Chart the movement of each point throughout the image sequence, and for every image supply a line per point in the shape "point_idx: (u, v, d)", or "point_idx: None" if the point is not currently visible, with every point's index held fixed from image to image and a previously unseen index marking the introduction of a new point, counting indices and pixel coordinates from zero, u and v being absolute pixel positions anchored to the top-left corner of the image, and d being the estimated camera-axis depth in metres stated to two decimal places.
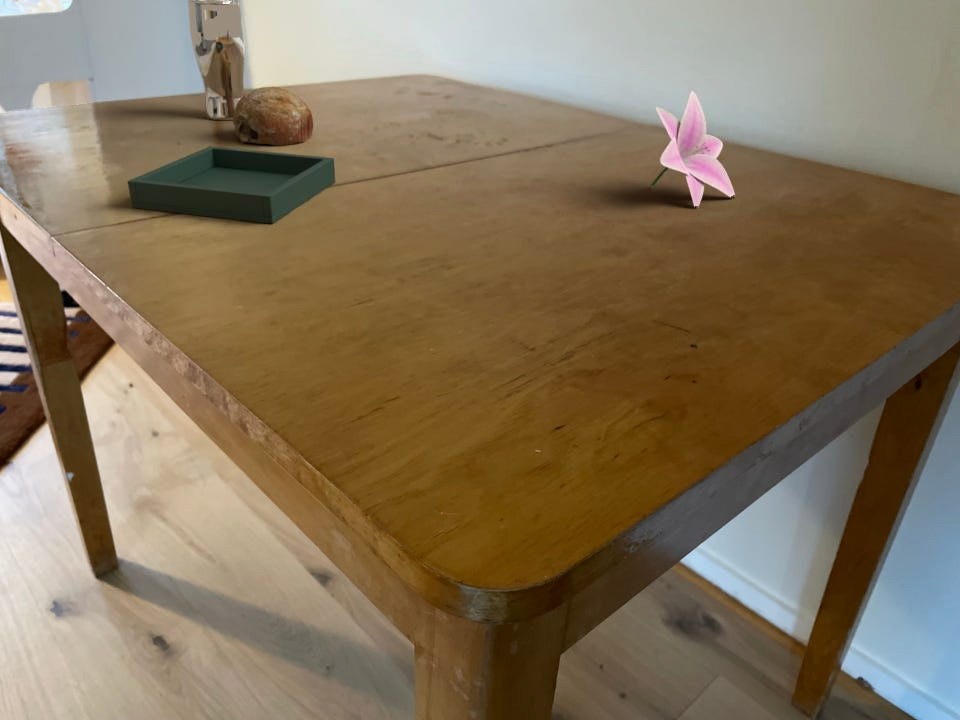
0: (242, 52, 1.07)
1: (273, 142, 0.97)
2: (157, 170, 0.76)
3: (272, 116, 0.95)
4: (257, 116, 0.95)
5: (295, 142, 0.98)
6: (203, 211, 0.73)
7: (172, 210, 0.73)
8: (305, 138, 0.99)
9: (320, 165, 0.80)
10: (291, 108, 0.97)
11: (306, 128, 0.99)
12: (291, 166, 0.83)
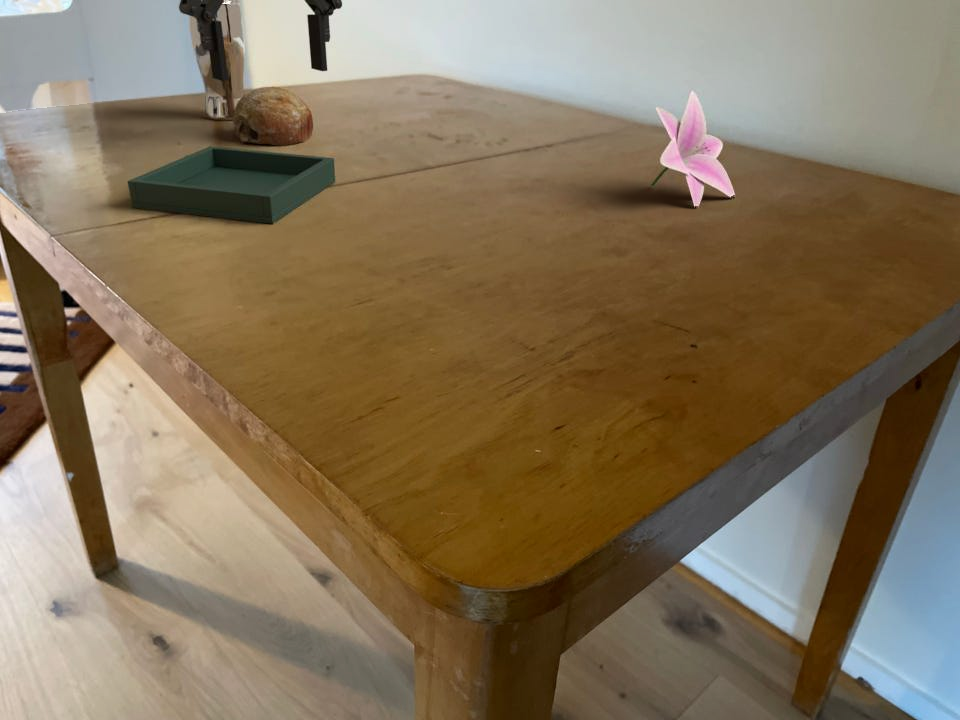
0: (242, 52, 1.07)
1: (273, 142, 0.97)
2: (157, 170, 0.76)
3: (272, 116, 0.95)
4: (257, 116, 0.95)
5: (295, 142, 0.98)
6: (203, 211, 0.73)
7: (172, 210, 0.73)
8: (305, 138, 0.99)
9: (320, 165, 0.80)
10: (291, 108, 0.97)
11: (306, 128, 0.99)
12: (291, 166, 0.83)
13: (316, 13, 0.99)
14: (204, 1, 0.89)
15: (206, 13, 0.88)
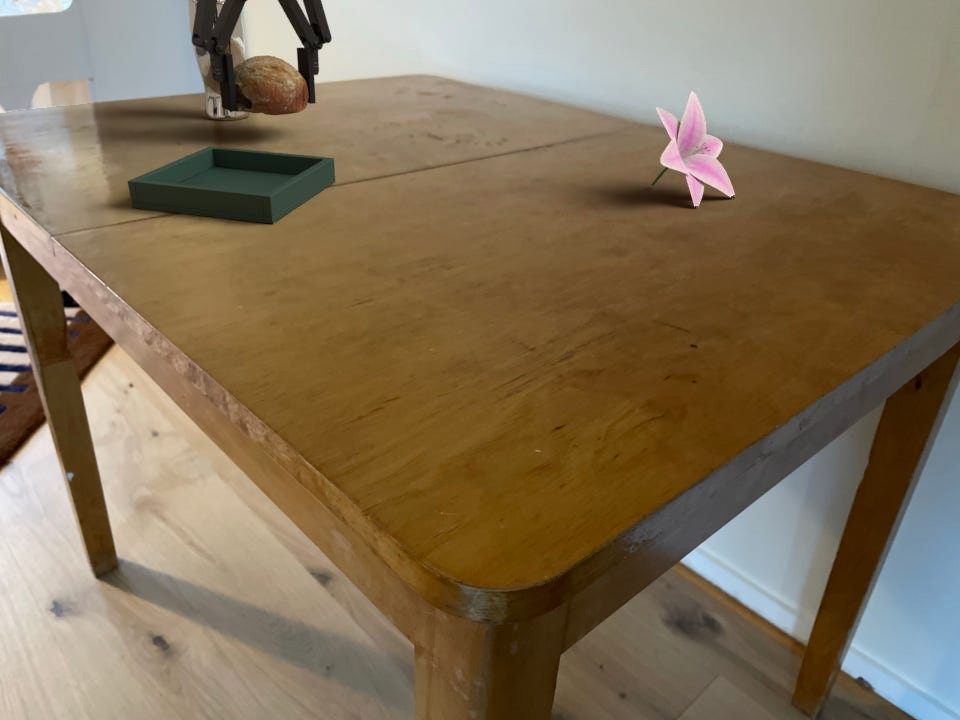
0: (242, 52, 1.07)
1: (267, 111, 0.95)
2: (157, 170, 0.76)
3: (267, 85, 0.93)
4: (251, 84, 0.94)
5: (290, 112, 0.96)
6: (203, 211, 0.73)
7: (172, 210, 0.73)
8: (300, 108, 0.98)
9: (320, 165, 0.80)
10: (286, 77, 0.95)
11: (301, 98, 0.97)
12: (291, 166, 0.83)
13: (305, 47, 1.00)
14: (214, 34, 0.92)
15: (218, 47, 0.91)
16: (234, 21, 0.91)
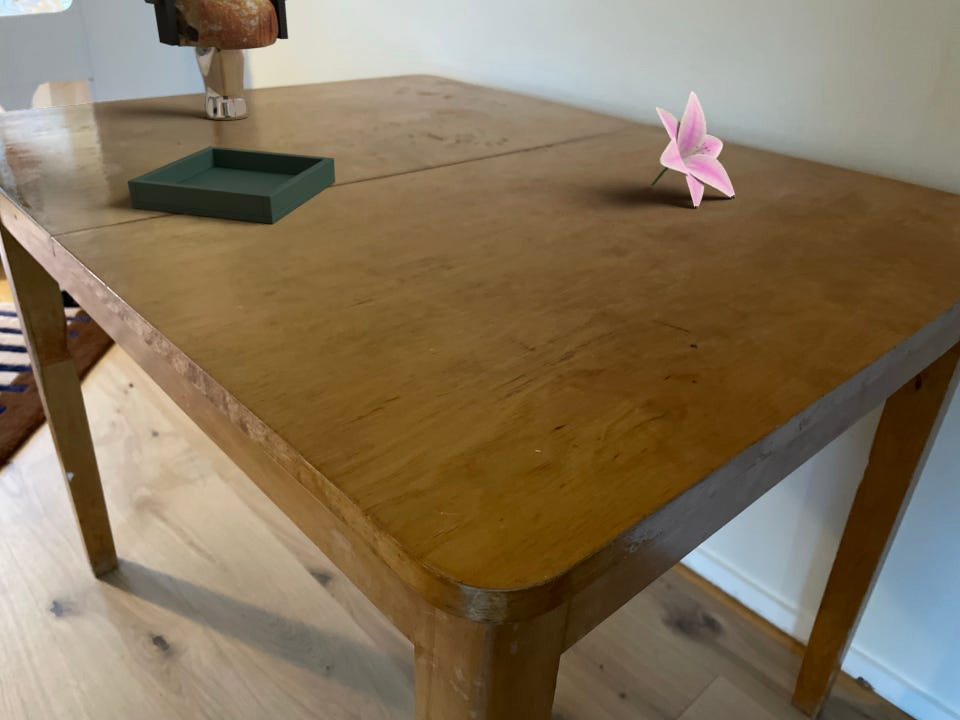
0: (242, 52, 1.07)
1: (220, 44, 0.69)
2: (157, 170, 0.76)
3: (218, 6, 0.68)
4: (196, 6, 0.68)
5: (251, 46, 0.71)
6: (203, 211, 0.73)
7: (172, 210, 0.73)
8: (266, 42, 0.72)
9: (320, 165, 0.80)
10: None
11: (267, 28, 0.72)
12: (291, 166, 0.83)
13: None
14: None
15: None
16: None
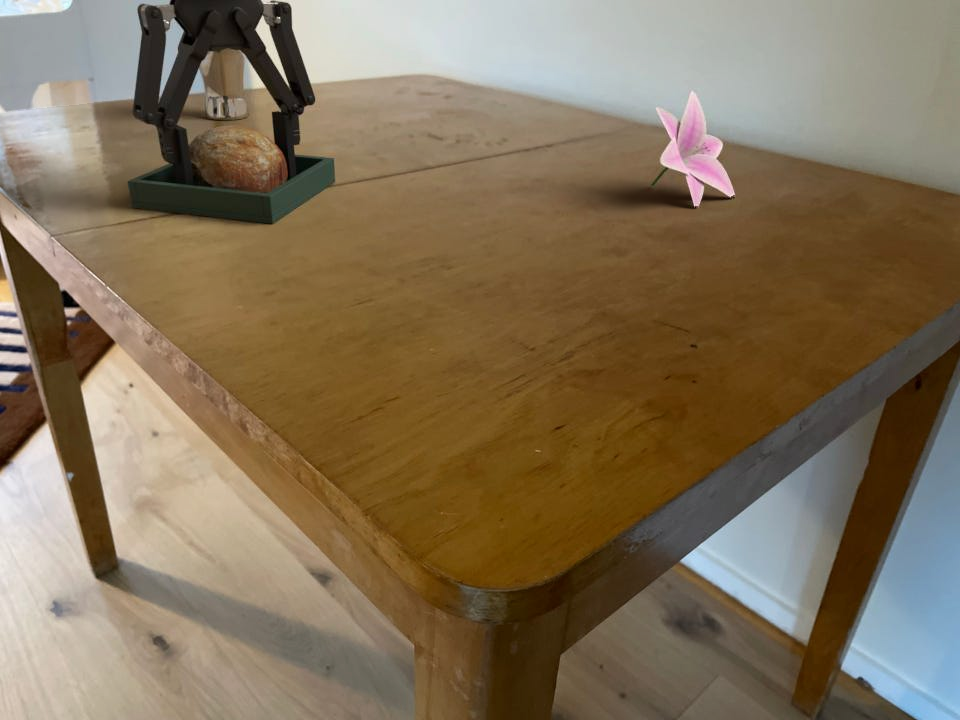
0: None
1: None
2: (157, 170, 0.76)
3: (232, 165, 0.73)
4: (212, 165, 0.73)
5: None
6: (203, 211, 0.73)
7: (172, 210, 0.73)
8: None
9: (320, 165, 0.80)
10: (257, 154, 0.74)
11: (277, 178, 0.77)
12: None
13: (283, 111, 0.79)
14: (162, 104, 0.71)
15: (166, 121, 0.70)
16: (187, 86, 0.70)
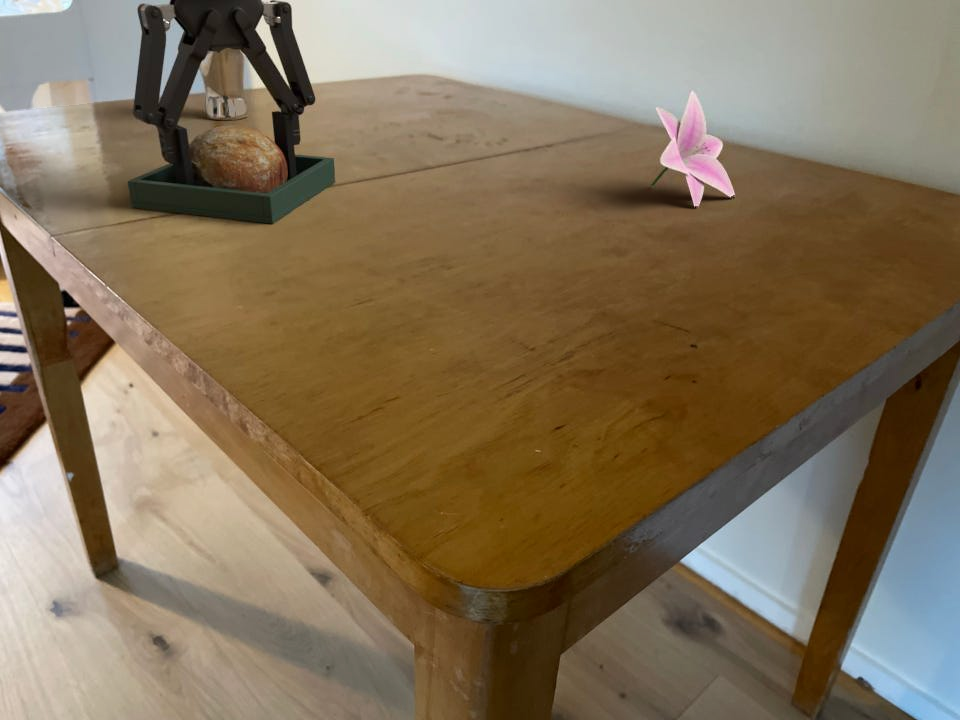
0: (242, 52, 1.07)
1: None
2: (157, 170, 0.76)
3: (232, 165, 0.73)
4: (212, 165, 0.73)
5: None
6: (203, 211, 0.73)
7: (172, 210, 0.73)
8: None
9: (320, 165, 0.80)
10: (257, 154, 0.74)
11: (278, 178, 0.77)
12: None
13: (283, 111, 0.79)
14: (163, 104, 0.71)
15: (167, 121, 0.70)
16: (187, 86, 0.70)
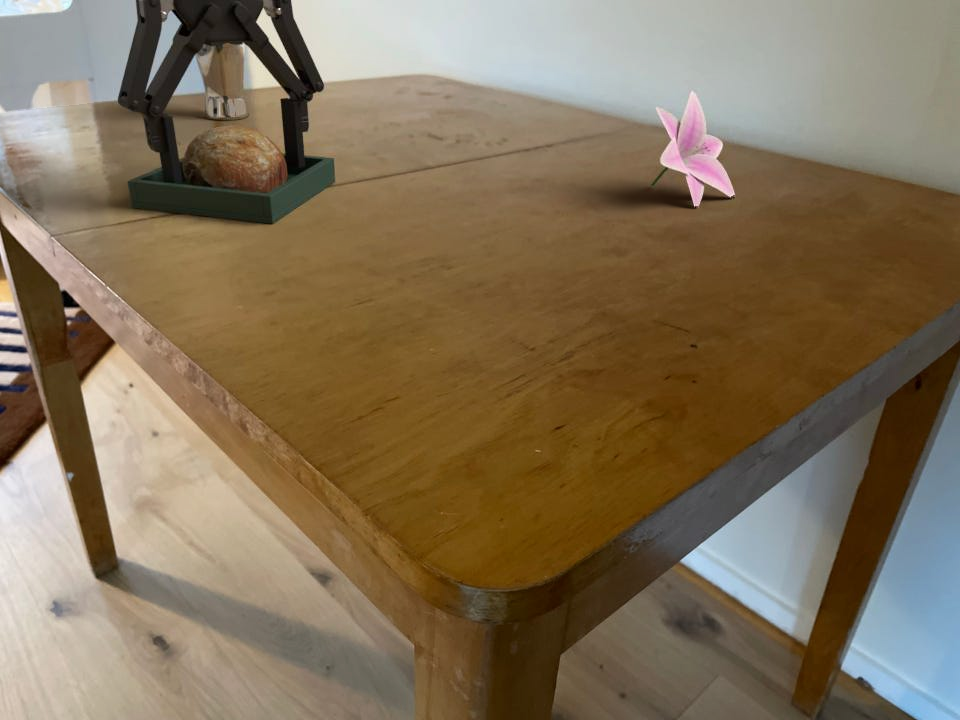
0: (242, 52, 1.07)
1: None
2: (157, 170, 0.76)
3: (232, 165, 0.73)
4: (211, 165, 0.73)
5: None
6: (203, 211, 0.73)
7: (172, 210, 0.73)
8: None
9: (320, 165, 0.80)
10: (256, 155, 0.74)
11: (277, 178, 0.77)
12: (291, 166, 0.83)
13: (291, 97, 0.79)
14: (150, 91, 0.70)
15: (152, 108, 0.69)
16: (178, 77, 0.70)
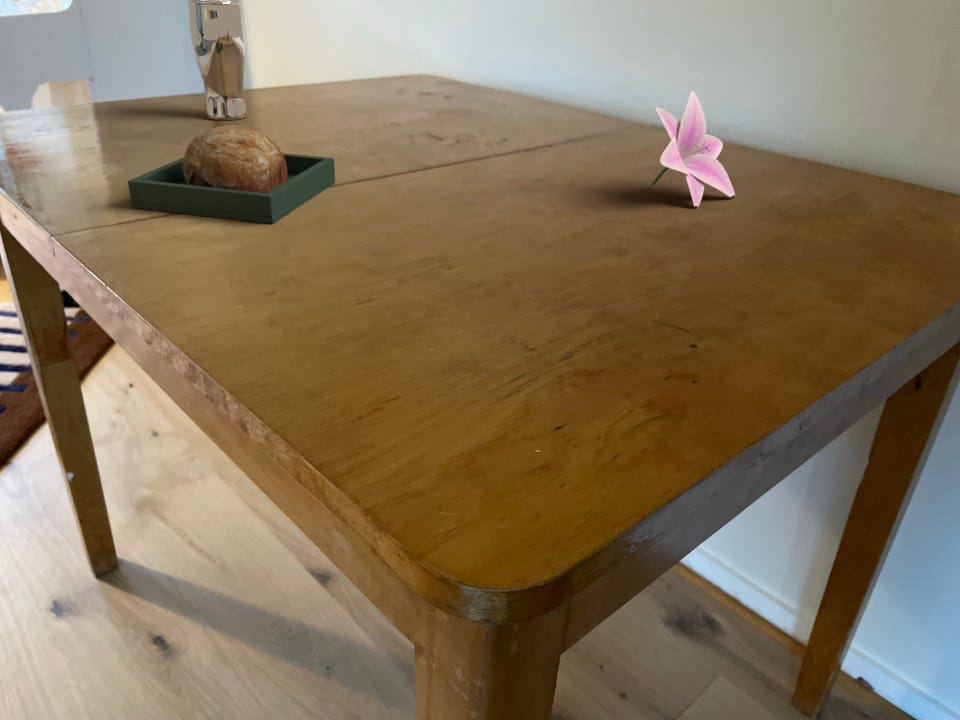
0: (242, 52, 1.07)
1: None
2: (157, 170, 0.76)
3: (232, 165, 0.73)
4: (211, 165, 0.73)
5: None
6: (203, 211, 0.73)
7: (172, 210, 0.73)
8: None
9: (320, 165, 0.80)
10: (256, 154, 0.74)
11: (277, 178, 0.77)
12: (291, 166, 0.83)
13: None
14: None
15: None
16: None
